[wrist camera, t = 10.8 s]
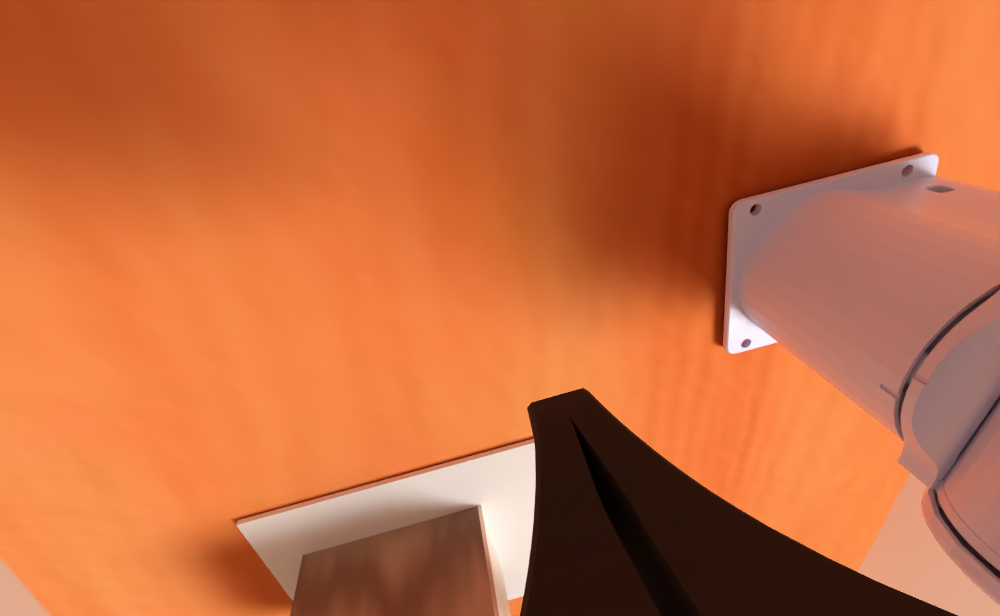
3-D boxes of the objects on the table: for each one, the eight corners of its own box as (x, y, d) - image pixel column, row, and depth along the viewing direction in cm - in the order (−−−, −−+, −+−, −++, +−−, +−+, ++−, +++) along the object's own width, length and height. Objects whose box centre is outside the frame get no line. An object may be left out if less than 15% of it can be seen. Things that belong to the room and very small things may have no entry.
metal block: (499, 616, 21) (276, 681, 21) (522, 679, 24) (327, 738, 24) (481, 505, 26) (302, 555, 26) (501, 568, 29) (341, 614, 29)
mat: (594, 421, 25) (596, 425, 25) (613, 564, 32) (614, 569, 32) (237, 520, 24) (235, 525, 24) (331, 647, 31) (330, 652, 31)
